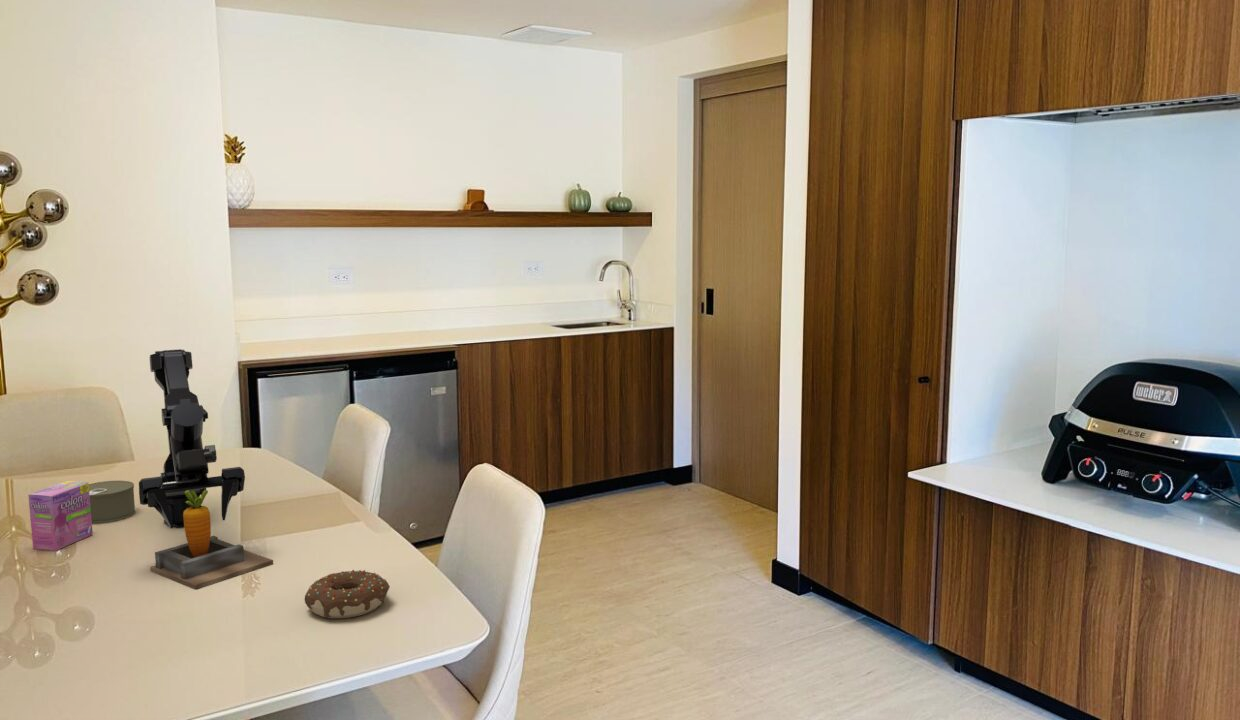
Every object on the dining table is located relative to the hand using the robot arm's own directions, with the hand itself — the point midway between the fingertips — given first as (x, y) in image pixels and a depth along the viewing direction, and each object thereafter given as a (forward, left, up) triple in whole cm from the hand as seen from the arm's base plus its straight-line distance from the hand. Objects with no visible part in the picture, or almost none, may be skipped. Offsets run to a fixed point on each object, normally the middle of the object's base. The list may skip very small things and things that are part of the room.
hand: (198, 523), depth 179 cm
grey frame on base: (-2, +1, -9) cm, 10 cm away
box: (+8, -39, -10) cm, 41 cm away
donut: (-6, +37, -10) cm, 39 cm away
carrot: (0, -1, -9) cm, 9 cm away
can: (-6, -50, -10) cm, 51 cm away
